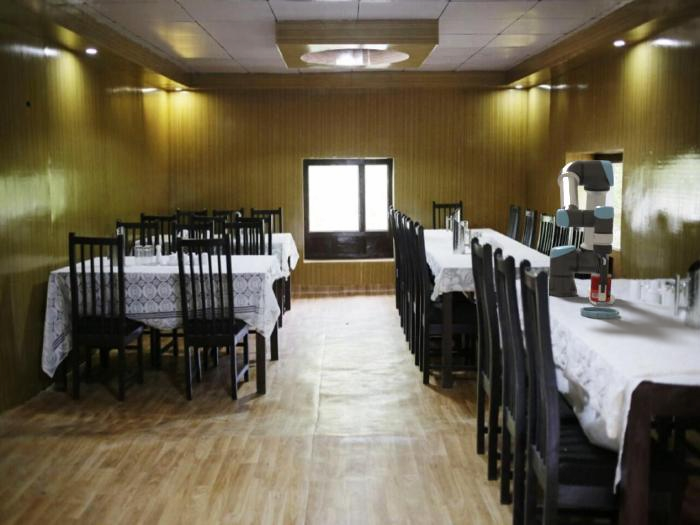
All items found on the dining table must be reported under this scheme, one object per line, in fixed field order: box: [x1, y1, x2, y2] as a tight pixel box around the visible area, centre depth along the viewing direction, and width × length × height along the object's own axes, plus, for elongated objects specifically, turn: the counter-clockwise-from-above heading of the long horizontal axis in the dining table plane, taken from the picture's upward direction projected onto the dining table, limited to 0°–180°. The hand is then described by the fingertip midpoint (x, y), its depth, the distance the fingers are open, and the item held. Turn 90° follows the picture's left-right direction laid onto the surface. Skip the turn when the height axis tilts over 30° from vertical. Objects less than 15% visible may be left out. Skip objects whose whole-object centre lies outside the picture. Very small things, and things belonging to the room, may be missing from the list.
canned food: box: [590, 273, 613, 303], centre depth 318 cm, size 8×8×11 cm
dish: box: [579, 306, 620, 320], centre depth 319 cm, size 15×15×2 cm
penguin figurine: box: [587, 285, 616, 306], centre depth 345 cm, size 6×8×12 cm
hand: (600, 298), depth 318 cm, fingers closed on canned food, 8 cm apart
